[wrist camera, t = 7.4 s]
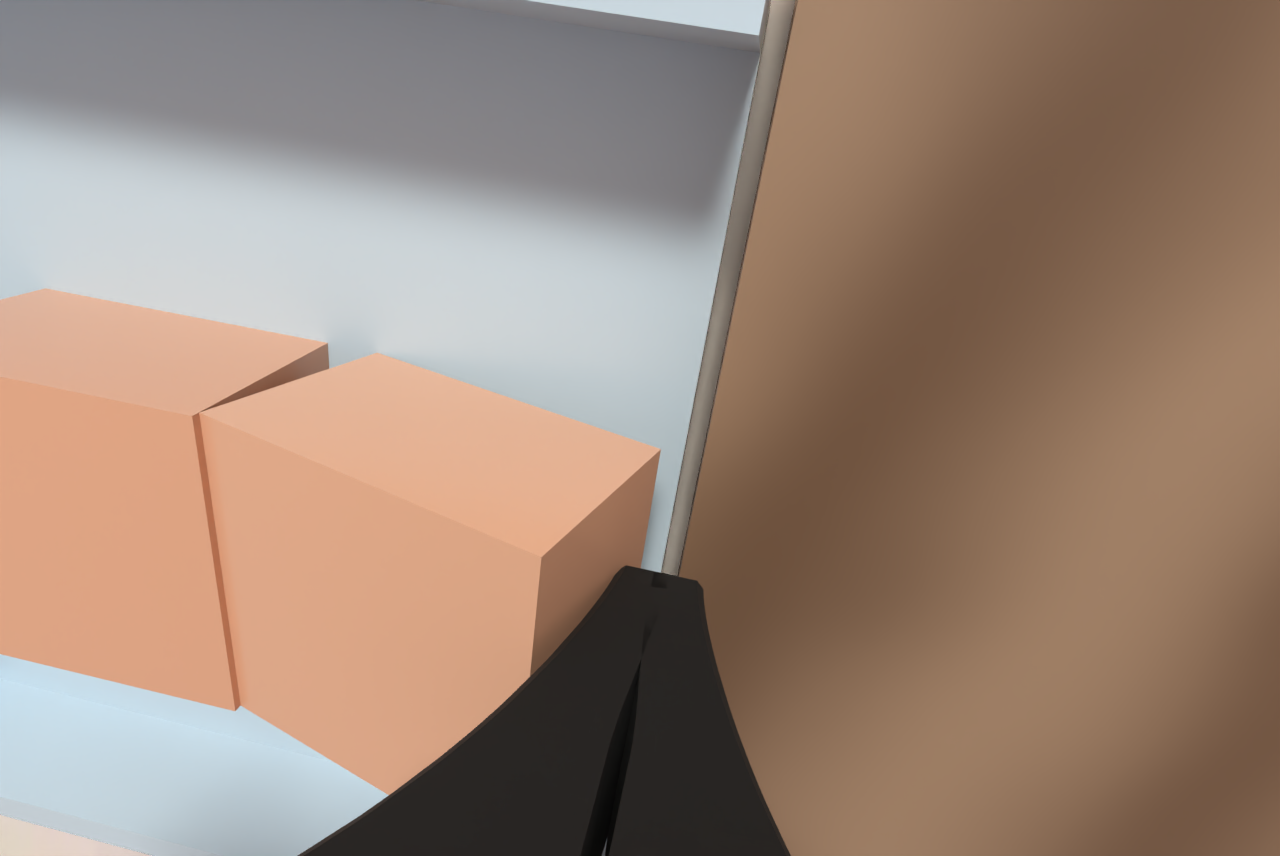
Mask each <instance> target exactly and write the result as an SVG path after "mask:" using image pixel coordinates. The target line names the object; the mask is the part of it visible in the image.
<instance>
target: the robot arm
mask: <svg viewBox="0 0 1280 856" xmlns="http://www.w3.org/2000/svg"><path fill="white" fill-rule="evenodd" d="M606 840H607V843H606ZM605 843H606V851H605V856H791V855H790V853H789V851H788V849H787V847H786V845H785V842H784V840H783V838H782V836H781V834H780V832H779V830H778V827H777V825H776V823H775V821H774V819H773V817H772V814H771V812H770V810H769V808H768V806H767V803H766V801H765V799H764V797H763V794H762V792H761V790H760V787H759V785H758V782H757V780H756V777H755V775H754V773H753V770H752V768H751V765H750V763H749V760H748V757H747V755H746V752H745V749H744V747H743V744H742V741H741V739H740V736H739V734H738V731H737V728H736V725H735V722H734V719H733V716H732V713H731V710H730V707H729V704H728V701H727V697H726V694H725V691H724V688H723V684H722V681H721V678H720V674H719V671H718V668H717V664H716V660H715V656H714V652H713V648H712V644H711V639H710V635H709V630H708V625H707V620H706V613H705V606H704V591H703V588H702V587H701V585H700V584H699V582H698V581H696V580H692V579H687V578H683V577H678V576H673V575H669V574H664V573H660V572H655V571H650V570H646V569H641V568H637V567H632V566H628V565H626V566H624V567H622V568H621V569H620V570H619V571H618V572H617V573H616V574H615V575H614V577H613V579H612V580H611V582H610V583H609V585H608V586H607V588H606V589H605V591H604V592H603V594H602V595H601V596H600V598H599V599H598V600H597V602H596V603H595V604H594V606H593V607H592V608H591V609H590V611H589V612H588V613H587V614H586V616H585V617H584V618H583V619H582V621H581V622H580V623H579V624H578V625H577V627H576V628H575V629H574V630H573V631H572V632H571V633H570V634H569V636H568V637H567V638H566V639H565V640H564V641H563V642H562V643H561V645H560V646H559V647H558V648H557V649H556V650H555V651H554V652H553V654H552V655H551V656H550V657H549V658H548V659H547V660H546V661H545V662H544V663H543V664H542V665H541V666H540V667H539V668H538V669H537V670H536V671H535V672H534V673H533V674H532V675H531V676H530V677H529V678H528V679H527V680H526V681H525V682H524V683H523V684H522V685H521V686H520V687H519V688H518V689H517V690H516V691H515V692H514V693H513V694H512V695H511V696H510V697H509V698H508V699H507V700H506V701H505V702H504V703H502V704H501V705H500V706H499V707H498V708H497V709H496V710H495V711H494V712H493V713H491V714H490V715H489V716H488V717H487V718H486V719H485V720H484V721H482V722H481V723H480V724H479V725H478V726H477V727H476V728H474V729H473V730H472V731H471V732H470V733H468V734H467V735H466V736H465V737H464V738H462V739H461V740H460V741H459V742H458V743H456V744H455V745H454V746H453V747H452V748H450V749H449V750H448V751H447V752H445V753H444V754H443V755H442V756H440V757H439V758H438V759H437V760H435V761H434V762H433V763H431V764H430V765H429V766H427V767H426V768H425V769H423V770H422V771H421V772H419V773H418V774H417V775H415V776H414V777H413V778H411V779H410V780H409V781H407V782H406V783H405V784H403V785H402V786H401V787H399V788H398V789H397V790H395V791H394V792H393V793H391V794H390V795H389V796H387V797H386V798H384V799H383V800H382V801H380V802H379V803H377V804H376V805H374V806H373V807H372V808H370V809H369V810H367V811H366V812H364V813H363V814H361V815H360V816H359V817H357V818H356V819H354V820H352V821H351V822H349V823H348V824H346V825H345V826H343V827H341V828H340V829H338V830H337V831H335V832H334V833H332V834H331V835H329V836H327V837H326V838H324V839H323V840H321V841H320V842H318V843H316V844H315V845H313V846H312V847H310V848H309V849H307V850H305V851H304V852H302V853H301V854H299V855H298V856H602V853H603V850H604V846H605Z"/></svg>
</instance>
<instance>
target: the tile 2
mask: <svg viewBox="0 0 1280 856" xmlns="http://www.w3.org/2000/svg"><path fill="white" fill-rule="evenodd" d="M199 415H200V423H201V430H202V437H203V444H204V451H205V458H206V465H207V472H208V479H209V486H210V493H211V500H212V507H213V514H214V521H215V528H216V535H217V542H218V549H219V557H220V564H221V571H222V578H223V585H224V592H225V599H226V606H227V613H228V620H229V627H230V634H231V641H232V648H233V655H234V662H235V669H236V676H237V683H238V691H239V698H240V705H241V706H242V707H244V708H245V709H247V710H249V711H250V712H252V713H254V714H255V715H257V716H259V717H260V718H262V719H264V720H265V721H267V722H269V723H270V724H272V725H274V726H275V727H277V728H278V729H280V730H282V731H283V732H285V733H287V734H288V735H290V736H292V737H293V738H295V739H297V740H298V741H300V742H302V743H303V744H305V745H307V746H308V747H310V748H312V749H313V750H315V751H316V752H318V753H320V754H321V755H323V756H325V757H326V758H328V759H330V760H331V761H333V762H335V763H336V764H338V765H340V766H341V767H343V768H345V769H346V770H348V771H350V772H351V773H353V774H354V775H356V776H358V777H359V778H361V779H363V780H364V781H366V782H368V783H369V784H371V785H373V786H374V787H376V788H378V789H379V790H381V791H383V792H384V793H386V794H388V795H390V794H391V793H393V792H394V791H395V790H397V789H398V788H399V787H401V786H402V785H403V784H405V783H406V782H407V781H409V780H410V779H411V778H413V777H414V776H415V775H417V774H418V773H419V772H421V771H422V770H423V769H425V768H426V767H427V766H429V765H430V764H431V763H433V762H434V761H435V760H437V759H438V758H439V757H440V756H442V755H443V754H444V753H445V752H447V751H448V750H449V749H450V748H452V747H453V746H454V745H455V744H456V743H458V742H459V741H460V740H461V739H462V738H464V737H465V736H466V735H467V734H468V733H470V732H471V731H472V730H473V729H474V728H476V727H477V726H478V725H479V724H480V723H481V722H482V721H484V720H485V719H486V718H487V717H488V716H489V715H490V714H491V713H493V712H494V711H495V710H496V709H497V708H498V707H499V706H500V705H501V704H502V703H504V702H505V701H506V700H507V699H508V698H509V697H510V696H511V695H512V694H513V693H514V692H515V691H516V690H517V689H518V688H519V687H520V686H521V685H522V684H523V683H524V682H525V681H526V680H527V679H528V678H529V677H530V676H531V675H532V674H533V673H534V672H535V671H536V670H537V669H538V668H539V667H540V666H541V665H542V664H543V663H544V662H545V661H546V660H547V659H548V658H549V657H550V656H551V655H552V654H553V652H554V651H555V650H556V649H557V648H558V647H559V646H560V645H561V643H562V642H563V641H564V640H565V639H566V638H567V637H568V636H569V634H570V633H571V632H572V631H573V630H574V629H575V628H576V627H577V625H578V624H579V623H580V622H581V621H582V619H583V618H584V617H585V616H586V614H587V613H588V612H589V611H590V609H591V608H592V607H593V606H594V604H595V603H596V602H597V600H598V599H599V598H600V596H601V595H602V594H603V592H604V591H605V589H606V588H607V586H608V585H609V583H610V582H611V580H612V579H613V577H614V575H615V574H616V573H617V572H618V571H619V570H620V569H621V568H622V567H624V566H626V565H628V566H632V567H637V568H641V563H642V558H643V552H644V546H645V540H646V534H647V528H648V522H649V517H650V511H651V505H652V499H653V493H654V487H655V481H656V476H657V470H658V464H659V458H660V452H661V449H659V448H656V447H653V446H650V445H647V444H644V443H642V442H639V441H636V440H633V439H630V438H627V437H624V436H621V435H618V434H615V433H612V432H609V431H606V430H603V429H600V428H597V427H595V426H592V425H589V424H586V423H583V422H580V421H577V420H574V419H571V418H568V417H565V416H562V415H559V414H556V413H553V412H550V411H547V410H545V409H542V408H539V407H536V406H533V405H530V404H527V403H524V402H521V401H518V400H515V399H512V398H509V397H506V396H503V395H500V394H498V393H495V392H492V391H489V390H486V389H483V388H480V387H477V386H474V385H471V384H468V383H465V382H462V381H459V380H456V379H453V378H450V377H448V376H445V375H442V374H439V373H436V372H433V371H430V370H427V369H424V368H421V367H418V366H415V365H412V364H409V363H406V362H403V361H401V360H398V359H395V358H392V357H389V356H386V355H383V354H380V353H374V354H372V355H369V356H366V357H363V358H360V359H357V360H354V361H351V362H348V363H345V364H342V365H339V366H336V367H333V368H330V369H327V370H324V371H321V372H318V373H315V374H312V375H309V376H306V377H303V378H300V379H297V380H294V381H291V382H288V383H285V384H283V385H280V386H277V387H274V388H271V389H268V390H265V391H262V392H259V393H256V394H253V395H250V396H247V397H244V398H241V399H238V400H235V401H232V402H229V403H226V404H223V405H220V406H217V407H214V408H211V409H208V410H205V411H202V412H199Z"/></svg>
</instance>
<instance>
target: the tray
mask: <svg viewBox="0 0 1280 856" xmlns="http://www.w3.org/2000/svg"><path fill="white" fill-rule="evenodd" d="M770 6H771V0H0V300H1V299H5V298H9V297H13V296H17V295H21V294H25V293H29V292H33V291H37V290H41V289H45V288H47V289H52V290H57V291H62V292H67V293H72V294H78V295H83V296H88V297H93V298H98V299H103V300H109V301H114V302H119V303H124V304H129V305H135V306H140V307H145V308H150V309H155V310H160V311H166V312H171V313H176V314H181V315H186V316H191V317H197V318H202V319H207V320H212V321H217V322H223V323H228V324H233V325H238V326H243V327H248V328H254V329H259V330H264V331H269V332H274V333H279V334H285V335H290V336H295V337H300V338H305V339H311V340H316V341H321V342H326V343H328V355H329V369H330V368H333V367H336V366H339V365H342V364H345V363H348V362H351V361H354V360H357V359H360V358H363V357H366V356H369V355H372V354H374V353H380V354H383V355H386V356H389V357H392V358H395V359H398V360H401V361H403V362H406V363H409V364H412V365H415V366H418V367H421V368H424V369H427V370H430V371H433V372H436V373H439V374H442V375H445V376H448V377H450V378H453V379H456V380H459V381H462V382H465V383H468V384H471V385H474V386H477V387H480V388H483V389H486V390H489V391H492V392H495V393H498V394H500V395H503V396H506V397H509V398H512V399H515V400H518V401H521V402H524V403H527V404H530V405H533V406H536V407H539V408H542V409H545V410H547V411H550V412H553V413H556V414H559V415H562V416H565V417H568V418H571V419H574V420H577V421H580V422H583V423H586V424H589V425H592V426H595V427H597V428H600V429H603V430H606V431H609V432H612V433H615V434H618V435H621V436H624V437H627V438H630V439H633V440H636V441H639V442H642V443H644V444H647V445H650V446H653V447H656V448H659V449H661V452H660V458H659V464H658V470H657V476H656V481H655V487H654V493H653V499H652V505H651V511H650V517H649V522H648V528H647V534H646V540H645V546H644V552H643V558H642V563H641V569H646V570H650V571H655V572H660V573H661V572H662V567H663V561H664V556H665V551H666V546H667V541H668V535H669V530H670V525H671V520H672V515H673V509H674V504H675V499H676V494H677V489H678V483H679V478H680V473H681V468H682V463H683V457H684V452H685V447H686V442H687V437H688V432H689V426H690V421H691V416H692V411H693V406H694V400H695V395H696V390H697V385H698V380H699V374H700V369H701V364H702V359H703V354H704V348H705V343H706V338H707V333H708V328H709V322H710V317H711V312H712V307H713V302H714V297H715V291H716V286H717V281H718V276H719V271H720V265H721V260H722V255H723V250H724V245H725V239H726V234H727V229H728V224H729V219H730V213H731V208H732V203H733V198H734V193H735V187H736V182H737V177H738V172H739V167H740V161H741V156H742V151H743V146H744V141H745V136H746V130H747V125H748V120H749V115H750V110H751V104H752V99H753V94H754V89H755V84H756V78H757V73H758V68H759V63H760V58H761V52H762V47H763V42H764V37H765V32H766V26H767V21H768V16H769V11H770ZM387 796H389V795H388V794H386V793H384V792H383V791H381V790H379V789H378V788H376V787H374V786H373V785H371V784H369V783H368V782H366V781H364V780H363V779H361V778H359V777H358V776H356V775H354V774H353V773H351V772H350V771H348V770H346V769H345V768H343V767H341V766H340V765H338V764H336V763H335V762H333V761H331V760H330V759H328V758H326V757H325V756H323V755H321V754H320V753H318V752H316V751H315V750H313V749H312V748H310V747H308V746H307V745H305V744H303V743H302V742H300V741H298V740H297V739H295V738H293V737H292V736H290V735H288V734H287V733H285V732H283V731H282V730H280V729H278V728H277V727H275V726H274V725H272V724H270V723H269V722H267V721H265V720H264V719H262V718H260V717H259V716H257V715H255V714H254V713H252V712H250V711H249V710H247V709H245V708H244V707H242V706H240V707H239V708H238V709H237V710H236V711H232V710H228V709H223V708H219V707H215V706H211V705H207V704H203V703H199V702H195V701H191V700H186V699H182V698H178V697H174V696H170V695H166V694H162V693H158V692H154V691H150V690H145V689H141V688H137V687H133V686H129V685H125V684H121V683H117V682H113V681H108V680H104V679H100V678H96V677H92V676H88V675H84V674H80V673H76V672H72V671H67V670H63V669H59V668H55V667H51V666H47V665H43V664H39V663H35V662H31V661H26V660H22V659H18V658H14V657H10V656H6V655H2V654H0V815H3V816H6V817H10V818H14V819H18V820H21V821H25V822H29V823H33V824H36V825H40V826H44V827H47V828H51V829H55V830H59V831H62V832H66V833H70V834H74V835H77V836H81V837H85V838H88V839H92V840H96V841H100V842H103V843H107V844H111V845H115V846H118V847H122V848H126V849H129V850H133V851H137V852H141V853H144V854H148V855H152V856H298V855H299V854H301V853H302V852H304V851H305V850H307V849H309V848H310V847H312V846H313V845H315V844H316V843H318V842H320V841H321V840H323V839H324V838H326V837H327V836H329V835H331V834H332V833H334V832H335V831H337V830H338V829H340V828H341V827H343V826H345V825H346V824H348V823H349V822H351V821H352V820H354V819H356V818H357V817H359V816H360V815H361V814H363V813H364V812H366V811H367V810H369V809H370V808H372V807H373V806H374V805H376V804H377V803H379V802H380V801H382V800H383V799H384V798H386V797H387ZM606 843H607V840H606ZM606 843H605V846H604V850H603V853H602V856H605V851H606Z"/></svg>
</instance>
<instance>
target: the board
mask: <svg viewBox="0 0 1280 856" xmlns="http://www.w3.org/2000/svg"><path fill="white" fill-rule="evenodd" d="M678 577H683V578H687V579H692V580H696V581H698V582H699V584H700V585H701V587H702V588H703V591H704V606H705V613H706V620H707V625H708V630H709V635H710V639H711V644H712V648H713V652H714V656H715V660H716V664H717V668H718V671H719V674H720V678H721V681H722V684H723V688H724V691H725V694H726V697H727V701H728V704H729V707H730V710H731V713H732V716H733V719H734V722H735V725H736V728H737V731H738V734H739V736H740V739H741V741H742V744H743V747H744V749H745V752H746V755H747V757H748V760H749V763H750V765H751V768H752V770H753V773H754V775H755V777H756V780H757V782H758V785H759V787H760V790H761V792H762V794H763V797H764V799H765V801H766V803H767V806H768V808H769V810H770V812H771V814H772V817H773V819H774V821H775V823H776V825H777V827H778V830H779V832H780V834H781V836H782V838H783V840H784V842H785V845H786V847H787V849H788V851H789V853H790V855H791V856H1280V0H796V1H795V6H794V11H793V16H792V21H791V26H790V31H789V35H788V40H787V45H786V50H785V55H784V60H783V65H782V70H781V74H780V79H779V84H778V89H777V94H776V99H775V104H774V109H773V113H772V118H771V123H770V128H769V133H768V138H767V143H766V148H765V152H764V157H763V162H762V167H761V172H760V177H759V182H758V187H757V191H756V196H755V201H754V206H753V211H752V216H751V221H750V226H749V230H748V235H747V240H746V245H745V250H744V255H743V260H742V264H741V269H740V274H739V279H738V284H737V289H736V294H735V299H734V303H733V308H732V313H731V318H730V323H729V328H728V333H727V338H726V342H725V347H724V352H723V357H722V362H721V367H720V372H719V377H718V381H717V386H716V391H715V396H714V401H713V406H712V411H711V416H710V420H709V425H708V430H707V435H706V440H705V445H704V450H703V455H702V459H701V464H700V469H699V474H698V479H697V484H696V489H695V493H694V498H693V503H692V508H691V513H690V518H689V523H688V528H687V532H686V537H685V542H684V547H683V552H682V557H681V562H680V567H679V571H678Z"/></svg>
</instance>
